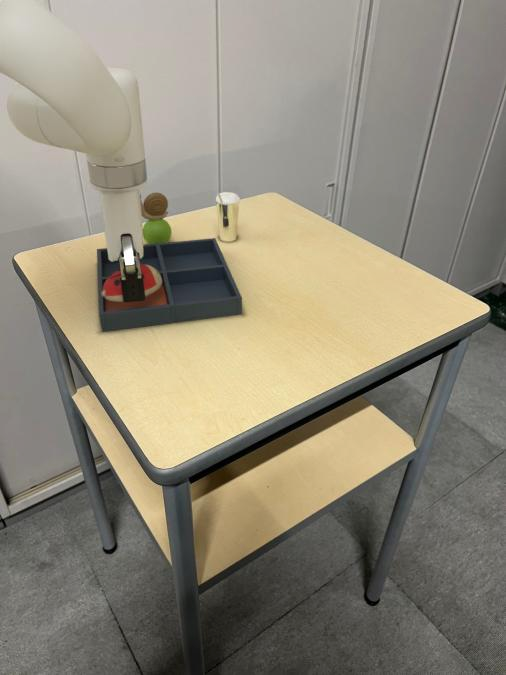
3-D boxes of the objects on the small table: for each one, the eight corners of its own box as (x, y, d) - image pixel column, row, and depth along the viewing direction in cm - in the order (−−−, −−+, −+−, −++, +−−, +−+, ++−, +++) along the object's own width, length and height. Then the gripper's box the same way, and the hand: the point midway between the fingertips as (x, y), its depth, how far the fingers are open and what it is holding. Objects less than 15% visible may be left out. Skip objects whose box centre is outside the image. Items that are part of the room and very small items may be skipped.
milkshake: (210, 241, 101) (208, 192, 95) (224, 231, 105) (223, 183, 99) (230, 246, 100) (229, 196, 94) (243, 236, 104) (244, 187, 98)
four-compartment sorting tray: (102, 332, 77) (98, 314, 75) (99, 264, 93) (96, 248, 91) (241, 314, 81) (241, 297, 79) (215, 252, 98) (215, 237, 96)
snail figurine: (135, 242, 100) (128, 182, 93) (167, 237, 103) (162, 177, 95) (143, 254, 96) (135, 192, 89) (176, 248, 99) (171, 187, 92)
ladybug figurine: (172, 289, 81) (170, 268, 79) (116, 312, 75) (113, 291, 73) (147, 273, 85) (145, 253, 82) (93, 294, 79) (89, 273, 77)
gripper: (88, 154, 75) (106, 263, 85) (88, 197, 61) (109, 321, 72) (141, 151, 77) (151, 259, 87) (152, 193, 63) (163, 314, 73)
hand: (132, 286), depth 79 cm, fingers closed on ladybug figurine, 7 cm apart
